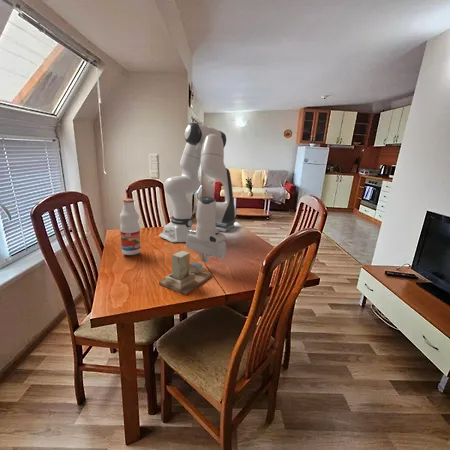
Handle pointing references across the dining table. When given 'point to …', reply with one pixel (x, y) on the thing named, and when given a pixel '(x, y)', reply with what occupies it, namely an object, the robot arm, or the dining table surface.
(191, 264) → the block
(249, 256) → the dining table surface
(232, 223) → the towel
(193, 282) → the base
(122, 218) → the fruit juice
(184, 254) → the skincare box
